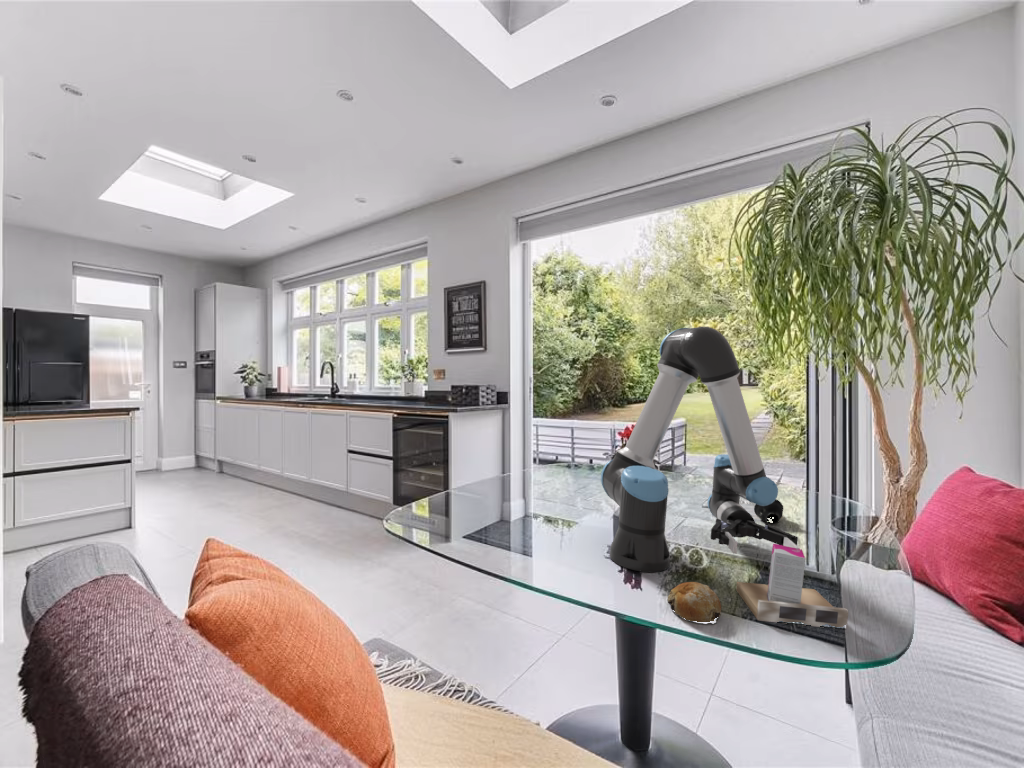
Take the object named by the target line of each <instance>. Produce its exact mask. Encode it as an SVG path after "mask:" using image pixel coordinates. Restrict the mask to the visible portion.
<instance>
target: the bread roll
mask: <svg viewBox="0 0 1024 768" xmlns="http://www.w3.org/2000/svg"><path fill="white" fill-rule="evenodd" d="M666 601H667V603H668V605H670V609H671V611H672V610H674V611H675V613H676V614H678V615H679V616H681V617H683V618H685V619H686V620H690V621H689V622H691V621H697V622H710V621H714V619H715V618H717V617H719V618H720V617H721V613H722V602H721V601H720V598H719V596H718V595H717V593H716V592H715V591H714V590H713V589H711V588H710V586H709V585H707V584H703V583H700V582H697V581H688V582H686V581H685V582H681V583H680V584H678V585H676V586H675V587H674V588H672V589H671V590H670V591H669V594H668V596H667V599H666ZM675 613H674V614H675ZM676 614H675V615H676ZM678 615H677V616H678ZM679 616H678V617H679ZM681 617H680V618H681ZM686 620H685V621H686Z"/></svg>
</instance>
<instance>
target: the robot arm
mask: <svg viewBox="0 0 1024 768" xmlns="http://www.w3.org/2000/svg"><path fill="white" fill-rule="evenodd" d="M659 346H660V347H659V354H660V358H659V361H658V362H657V365H656V366H657V369H658V371H659V373H658V376H657V378H656V380H655V381H654V384H653V386H652V388H651V391H650V393H649V395H648V396H647V399H646V401H645V403H644V406H643V408H642V410H641V411H640V414H639V416H638V418H637V421H636V422H635V425H634V427H633V429H632V431H631V434H630V436H629V438H628V440H627V442H626V445H625V446H624V447H622V448H620V449H617V450H616V453H615V455H614V457H613V459H611V460H609V461H608V462H607V463H606V464H605V465H603V467H602V469H601V473H600V482H601V483H600V484H601V486H602V489H603V490H604V492H605V494H606V495H607V497H609V498H610V499H611V500H612V501H613V502H615V503H616V504H617V506H619V513H618V517H619V518H618V528H617V530H616V532H615V535H614V537H613V540H612V542H611V545H610V547H609V548H610V549H609V557H610V559H611V560H612V562H614V563H615V564H616V565H618V566H621V567H622V568H626V569H628V570H632V571H636V572H642V573H657V572H663V571H665V570H667V569H668V568H669V567H670V565H671V564H670V563H671V562H670V561H671V554H670V551H669V550H670V549H669V546H668V542H667V538H666V533H665V532H666V519H667V506H668V496H669V480H668V478H667V476H666V475H665V473H663V472H662V471H660V470H658V469H656V466H655V465H656V464H655V463H654V459H655V457H656V455H657V453H658V451H659V449H660V447H661V444H662V442H663V440H664V438H665V436H666V434H667V432H668V430H669V428H670V425H671V422H672V421H673V419H674V416H675V414H676V412H677V410H678V408H679V405H680V404H681V401H682V399H683V397H684V395H685V393H686V392H687V391H686V390H687V389H688V387H689V385H690V384H692V383H696V382H697V380H698V379H699V378H700V383H701V384H703V385H704V386H706V387H707V391H708V394H709V397H710V400H711V402H712V403H711V404H712V407H713V409H714V410H713V411H714V413H715V415H716V416H715V417H716V419H717V424H718V427H719V430H720V432H721V436H722V439H723V442H724V446H725V449H726V452H727V454H726V453H725V454H723V453H722V454H717V456H715V458H714V464H713V474H712V476H713V478H712V490H711V494H710V495H709V497H708V499H707V508H708V510H709V511H710V514H711V515H712V516H713V517H714V518H715V523H714V525H713V526H712V527H711V528H710V529H711V530H710V539H711V540H712V541H716V540H717V539H718V544H719V545H726V546H727V548H728V549H729V550H730V551H731V553H732V554H735V555H736V554H737V551H738V541H737V540H736V539H735V538H746V537H748V538H755V539H756V540H765V541H768V542H770V543H773V544H778V545H782V546H787V547H792V548H797V549H801V548H800V547H799V546H798V541H799V538H798V536H797V535H793V534H791V533H789V532H787V531H785V530H782V529H780V528H777V527H775V526H773V524H769V523H767V522H765V523H764V525H762V524H759V523H757V522H756V521H755V519H754V517H753V516H752V515H751V514H750V512H748V510H746V509H745V508H744V507H743V506H742V505H741V504H740V499H741V498H743V499H745V500H746V501H748V502H749V503H751V504H757V505H760V506H767V505H769V504H771V503H773V502H774V501H775V499H778V498H777V497H778V495H779V487H778V485H777V484H776V482H775V481H774V480H773V479H771V478H770V477H768V476H767V475H766V471H765V467H764V464H763V461H762V457H761V454H760V452H759V448H758V447H759V446H758V444H757V440H756V437H755V434H754V431H753V428H752V424H751V421H750V417H749V414H748V413H749V412H748V409H747V407H746V403H745V400H744V397H743V392H742V389H741V385H740V383H739V379H738V377H739V376H740V374H741V371H740V367H739V364H738V361H737V358H736V355H735V353H734V351H733V348H732V347H731V345H730V343H729V341H728V340H727V338H726V337H725V336H724V335H723V334H722V333H721V332H720V331H719V330H717V329H715V328H713V327H709V326H697V327H681V328H677V329H675V330H672V331H671V332H669V333H667V334H666V335H665V336H664V338H663V339H662V341H661V343H660V345H659ZM740 497H741V498H740Z"/></svg>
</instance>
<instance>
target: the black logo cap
mask: <svg viewBox="0 0 1024 768" xmlns="http://www.w3.org/2000/svg"><path fill="white" fill-rule="evenodd" d="M753 511H754V514H755V515H756V517H757V518H759V519H760V520H761V521H763V522H764V521H765V522H764V523H767V518H770V517H771V518H770V519H772V517H774V519H772V521H773V523H770V522H768V524H770V525H776V524H778V523H779V522H780V520H781V519H782V517H783V512H784V505H783V503H782V502H781V501H780V500H778V498H776V499H775V501H774V502H773V503H771V504H769V505H767V506H760V505H757V504H755V505H754V507H753Z"/></svg>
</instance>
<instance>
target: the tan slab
mask: <svg viewBox="0 0 1024 768" xmlns="http://www.w3.org/2000/svg"><path fill="white" fill-rule="evenodd" d="M735 590H736V592H737V593H738V595H739V596H740V597H741V599H742V600H743V602H744V603H745V604H746V606H747V607H748V609H749V610H750V611H751V613H752V614H753V615H754V617H755V618H756V620H757V621H761V622H769V623H777V622H779V621H783V622H802V623H804V624H807V625H811V626H810V627H817V628H821V627H820V626H822V625H825V624H828V625H831V626H835V627H843V626H844V625H846V624H847V625H848V618H849V610H848V608H845V607H834V605H832V604H831V603H830V602H829V601H828V600H827V599H826V598H824V597H823V595H821V593H820V592H818V591H817V590H816V589H814V588H808V587H807V588H804V587H802V594H801V603H800V604H796V603H786V602H776V601H768V595H767V592H768V584H764V583H754V582H744V581H736V589H735Z"/></svg>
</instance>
